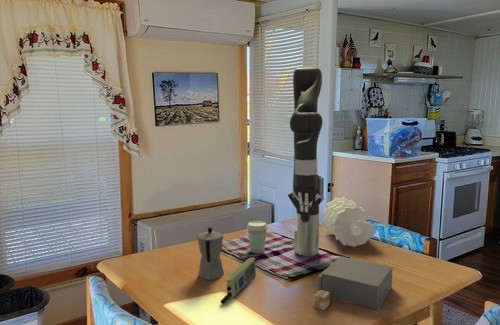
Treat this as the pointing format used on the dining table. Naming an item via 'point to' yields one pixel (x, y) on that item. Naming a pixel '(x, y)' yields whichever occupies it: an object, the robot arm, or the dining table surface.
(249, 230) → the coffee cup
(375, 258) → the dining table surface
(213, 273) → the coffeepot
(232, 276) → the handheld radio
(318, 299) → the pedestal
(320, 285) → the tray
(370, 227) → the spiral staircase
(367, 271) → the block
